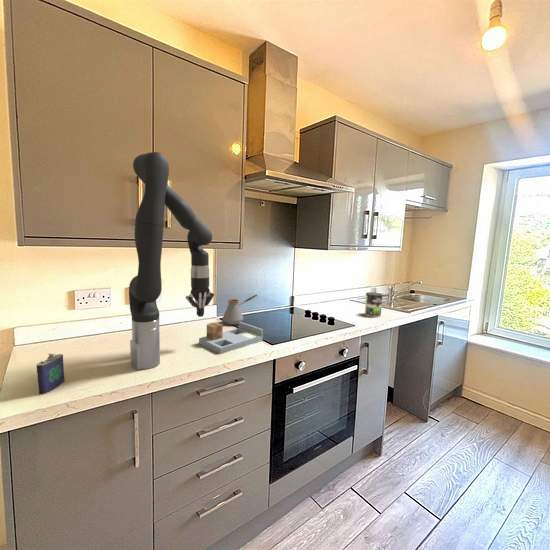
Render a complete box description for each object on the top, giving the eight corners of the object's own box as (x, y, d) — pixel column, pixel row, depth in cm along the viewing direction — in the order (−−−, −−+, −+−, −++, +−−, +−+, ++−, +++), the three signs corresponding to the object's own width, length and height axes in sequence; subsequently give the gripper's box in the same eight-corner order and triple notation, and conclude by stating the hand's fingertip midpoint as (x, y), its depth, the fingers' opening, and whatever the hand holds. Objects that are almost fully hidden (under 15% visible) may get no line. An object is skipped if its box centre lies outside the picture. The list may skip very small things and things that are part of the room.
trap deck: (220, 354, 124) (220, 341, 123) (198, 343, 134) (198, 331, 134) (262, 340, 141) (262, 329, 140) (240, 332, 152) (240, 321, 151)
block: (213, 340, 132) (213, 327, 131) (206, 337, 135) (206, 324, 135) (222, 337, 136) (222, 324, 135) (215, 335, 139) (216, 322, 138)
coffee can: (384, 316, 192) (386, 295, 191) (369, 317, 190) (371, 295, 188) (375, 312, 202) (377, 292, 201) (361, 313, 200) (363, 292, 198)
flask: (59, 379, 98) (57, 348, 97) (68, 380, 98) (66, 348, 97) (35, 394, 89) (33, 359, 88) (45, 394, 89) (43, 360, 88)
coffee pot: (227, 327, 159) (228, 299, 157) (219, 321, 169) (219, 295, 167) (262, 322, 171) (263, 296, 169) (252, 317, 181) (252, 292, 179)
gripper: (190, 278, 119) (191, 321, 121) (218, 275, 128) (218, 315, 131) (181, 276, 124) (181, 317, 126) (208, 273, 134) (208, 311, 136)
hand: (200, 316), depth 129 cm, fingers closed
